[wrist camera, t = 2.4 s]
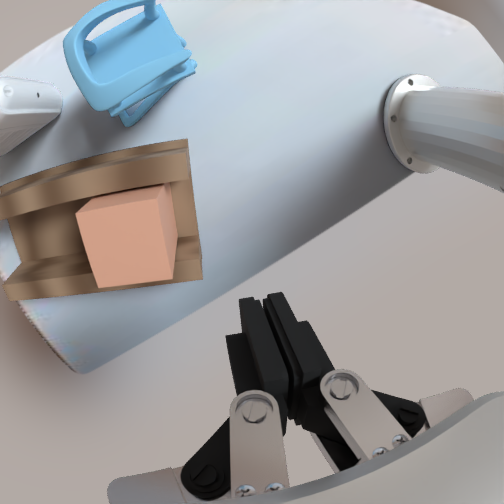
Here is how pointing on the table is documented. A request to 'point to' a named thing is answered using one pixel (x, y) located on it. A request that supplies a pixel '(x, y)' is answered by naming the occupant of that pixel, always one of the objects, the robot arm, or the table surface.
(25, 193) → the chute
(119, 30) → the chair
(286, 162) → the table surface
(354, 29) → the table surface
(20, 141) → the photo printer
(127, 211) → the block
